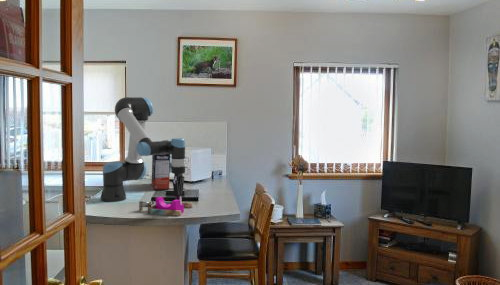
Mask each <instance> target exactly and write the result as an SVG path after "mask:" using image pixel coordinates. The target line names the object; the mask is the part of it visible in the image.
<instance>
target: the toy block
mask: <svg viewBox="0 0 500 285" xmlns="http://www.w3.org/2000/svg"><path fill="white" fill-rule="evenodd" d="M164 200H165V199H164V197H163V196H158V197H155V204H156V209H163V210H180V211H181V214H183V212H184V211H185V210H184V209H185V207H184V205H183V204H181V202H182V199H181V200H176V199H174V200H172V201H171V202H172V204H168V205H166V203H165V202H164Z"/></svg>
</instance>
